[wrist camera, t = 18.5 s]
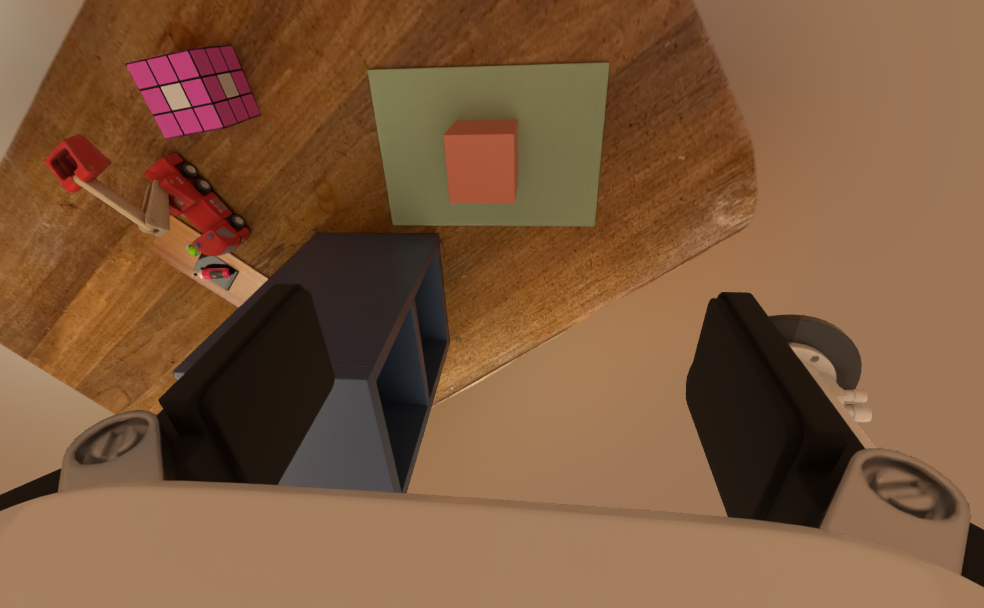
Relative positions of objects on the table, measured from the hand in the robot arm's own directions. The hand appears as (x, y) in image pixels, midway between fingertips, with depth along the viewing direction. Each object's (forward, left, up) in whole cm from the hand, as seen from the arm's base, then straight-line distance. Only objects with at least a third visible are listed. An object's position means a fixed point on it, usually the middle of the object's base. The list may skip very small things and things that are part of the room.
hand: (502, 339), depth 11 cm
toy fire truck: (+34, +7, -34) cm, 48 cm away
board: (+36, +16, -34) cm, 52 cm away
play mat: (+4, +4, -33) cm, 34 cm away
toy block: (+4, +4, -33) cm, 33 cm away
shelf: (+16, +19, -33) cm, 42 cm away
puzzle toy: (+28, -2, -34) cm, 44 cm away
